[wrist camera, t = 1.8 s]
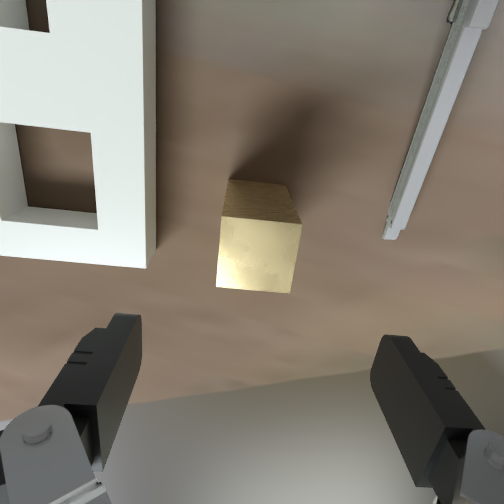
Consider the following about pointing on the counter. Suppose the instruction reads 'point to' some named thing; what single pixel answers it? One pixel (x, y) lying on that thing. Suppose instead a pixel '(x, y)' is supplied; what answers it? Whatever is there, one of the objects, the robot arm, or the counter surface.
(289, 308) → the counter surface
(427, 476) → the robot arm
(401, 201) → the caliper
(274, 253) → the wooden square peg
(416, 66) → the counter surface
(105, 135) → the white peg hole board
